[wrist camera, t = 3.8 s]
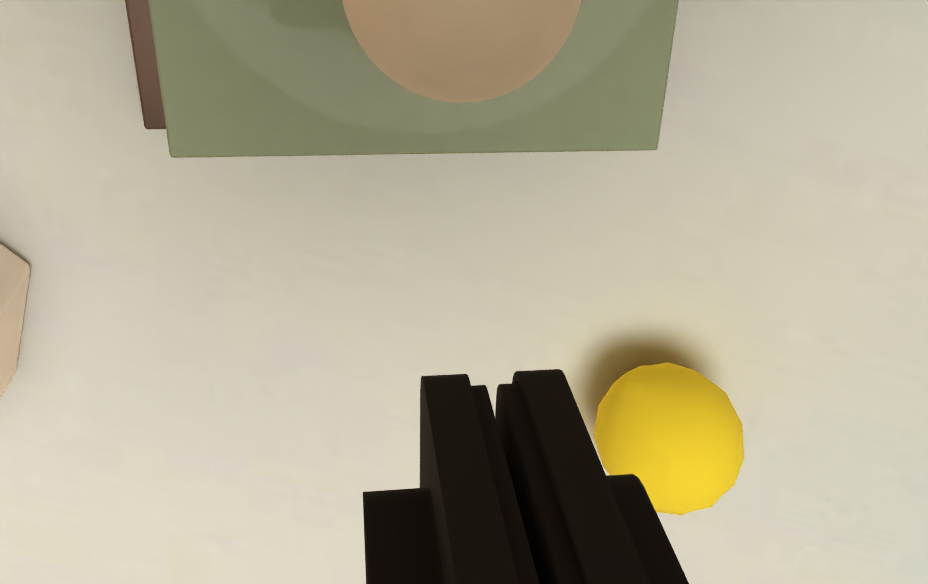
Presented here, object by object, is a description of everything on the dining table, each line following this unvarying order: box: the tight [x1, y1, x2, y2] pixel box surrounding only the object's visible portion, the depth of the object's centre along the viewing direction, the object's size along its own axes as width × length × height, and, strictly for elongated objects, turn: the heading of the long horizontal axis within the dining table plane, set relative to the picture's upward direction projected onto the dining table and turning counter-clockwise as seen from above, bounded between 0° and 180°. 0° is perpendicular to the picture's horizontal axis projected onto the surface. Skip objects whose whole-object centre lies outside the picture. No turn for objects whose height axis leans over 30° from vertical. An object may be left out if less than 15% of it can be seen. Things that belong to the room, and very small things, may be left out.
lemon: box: [594, 362, 744, 515], centre depth 34 cm, size 7×5×5 cm
